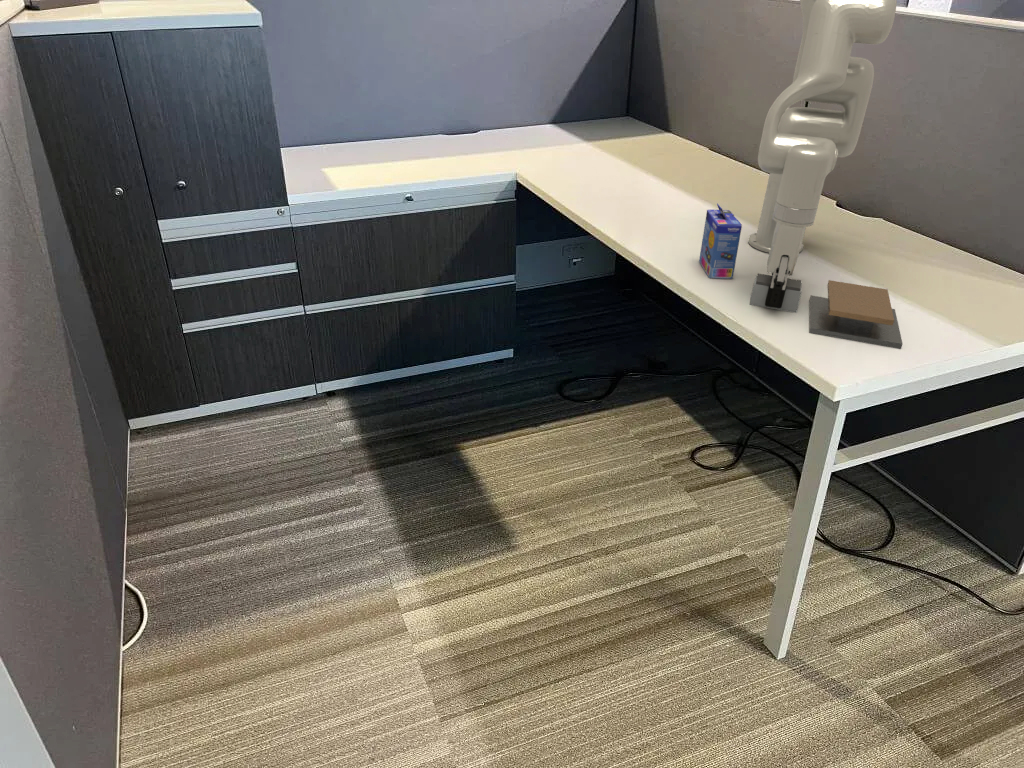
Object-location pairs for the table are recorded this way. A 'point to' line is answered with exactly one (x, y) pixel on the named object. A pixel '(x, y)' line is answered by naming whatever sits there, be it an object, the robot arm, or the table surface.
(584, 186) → the table surface
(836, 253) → the table surface
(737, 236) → the ink cartridge box
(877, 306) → the cardboard on grey plate
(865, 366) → the table surface
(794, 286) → the block
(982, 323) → the table surface
